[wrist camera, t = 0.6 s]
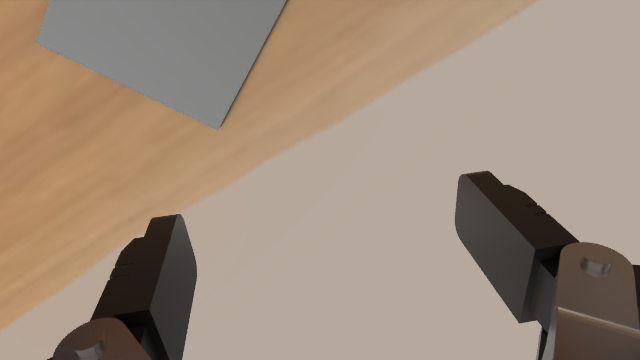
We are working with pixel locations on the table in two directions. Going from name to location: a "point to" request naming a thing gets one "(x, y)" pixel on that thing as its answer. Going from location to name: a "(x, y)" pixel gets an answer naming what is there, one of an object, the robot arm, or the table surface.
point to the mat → (165, 46)
